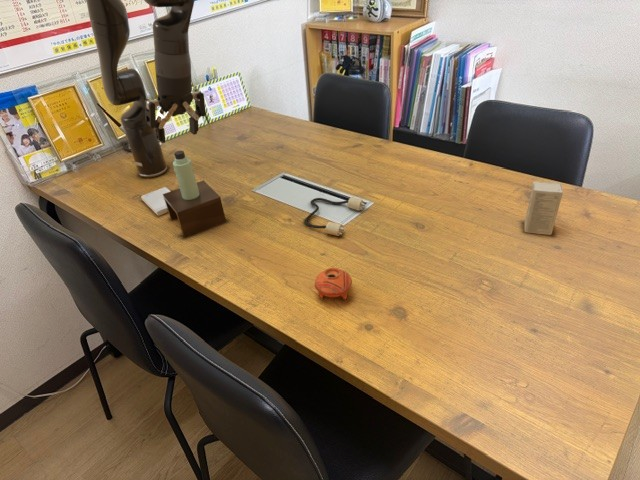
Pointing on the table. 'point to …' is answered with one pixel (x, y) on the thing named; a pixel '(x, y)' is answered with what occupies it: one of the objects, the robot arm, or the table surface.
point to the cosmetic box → (543, 207)
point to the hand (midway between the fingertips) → (177, 137)
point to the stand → (195, 209)
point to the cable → (331, 226)
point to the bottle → (185, 176)
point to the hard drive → (156, 200)
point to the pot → (333, 283)
